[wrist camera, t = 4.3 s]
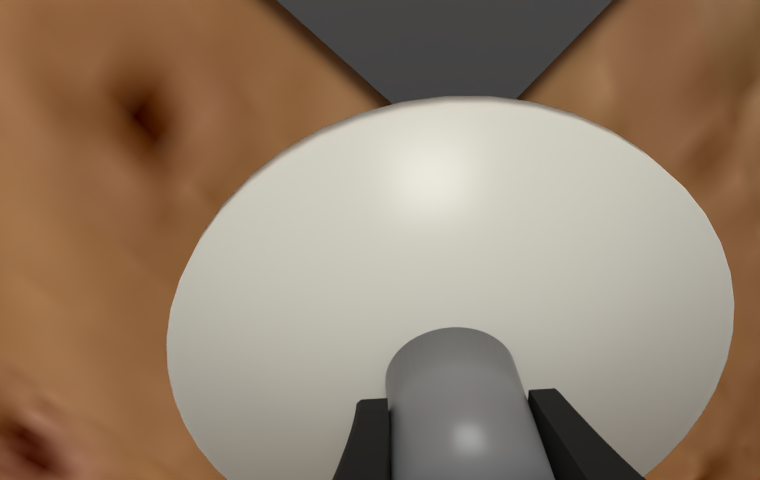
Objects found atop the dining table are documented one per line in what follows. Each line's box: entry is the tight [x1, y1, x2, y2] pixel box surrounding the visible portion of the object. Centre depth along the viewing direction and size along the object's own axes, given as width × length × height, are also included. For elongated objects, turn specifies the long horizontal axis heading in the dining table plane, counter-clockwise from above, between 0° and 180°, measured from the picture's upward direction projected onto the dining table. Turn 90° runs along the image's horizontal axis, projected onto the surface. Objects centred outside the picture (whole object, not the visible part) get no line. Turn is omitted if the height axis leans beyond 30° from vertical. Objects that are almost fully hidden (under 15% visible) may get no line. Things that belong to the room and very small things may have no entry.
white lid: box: [166, 96, 734, 480], centre depth 13 cm, size 14×14×4 cm
